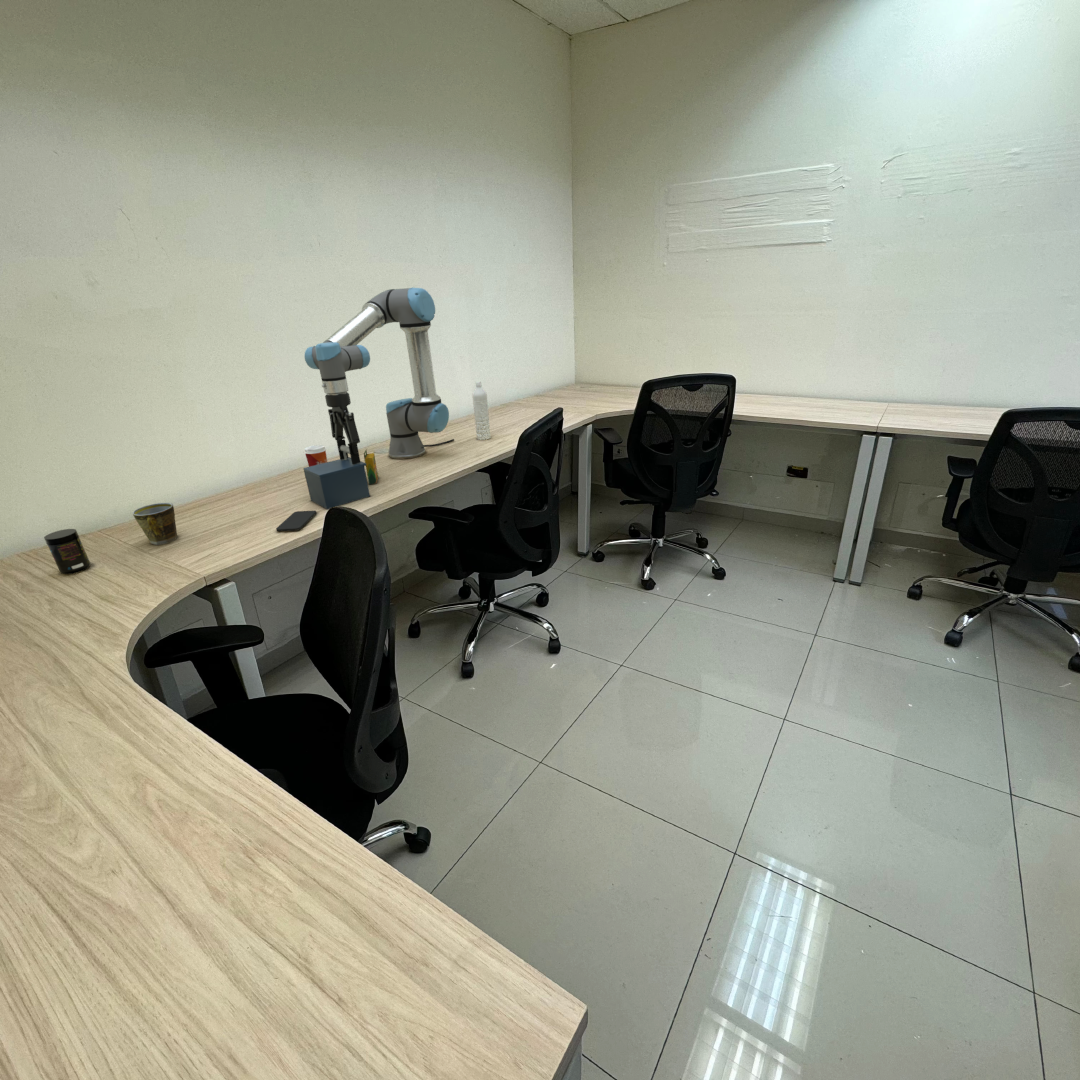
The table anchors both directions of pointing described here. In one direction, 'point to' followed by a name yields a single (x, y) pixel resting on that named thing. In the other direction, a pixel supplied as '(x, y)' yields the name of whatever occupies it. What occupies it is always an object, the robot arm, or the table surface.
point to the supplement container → (67, 551)
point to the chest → (338, 487)
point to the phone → (296, 521)
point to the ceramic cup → (157, 522)
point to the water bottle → (481, 413)
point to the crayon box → (371, 468)
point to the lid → (334, 465)
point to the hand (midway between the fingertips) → (350, 460)
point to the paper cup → (315, 455)
